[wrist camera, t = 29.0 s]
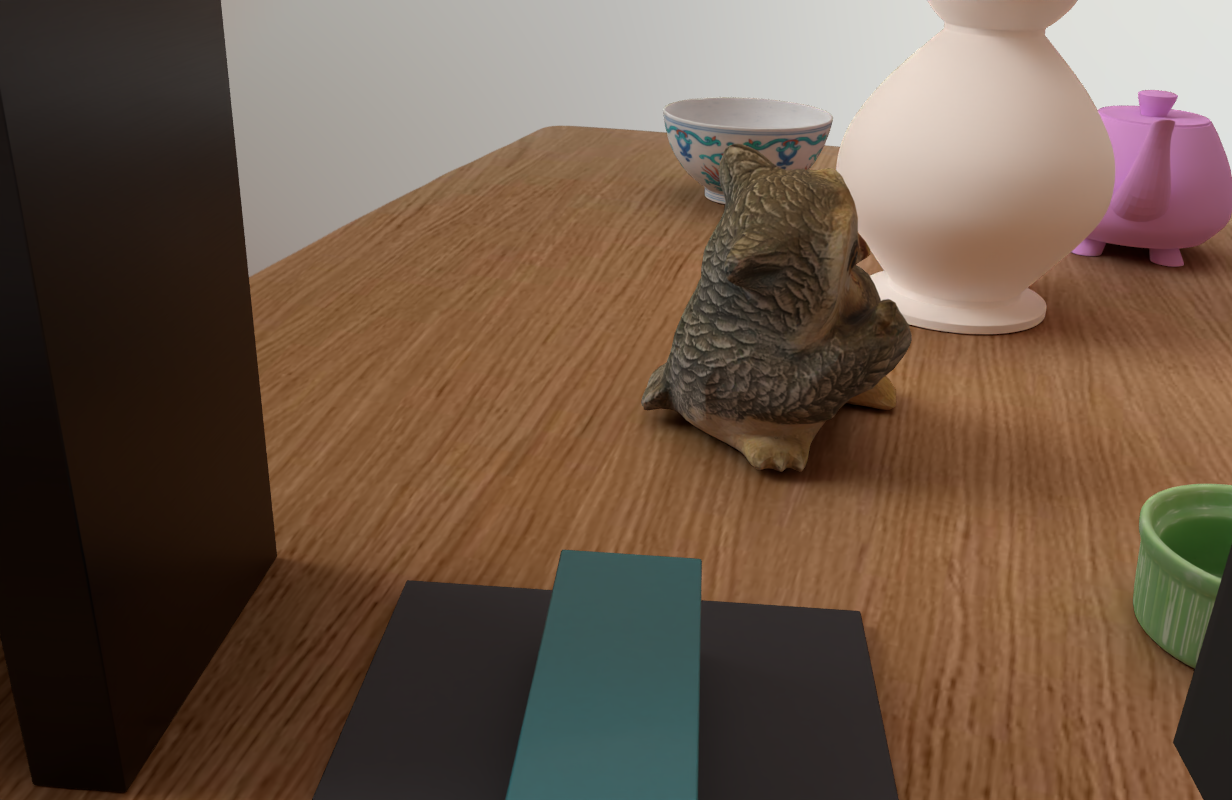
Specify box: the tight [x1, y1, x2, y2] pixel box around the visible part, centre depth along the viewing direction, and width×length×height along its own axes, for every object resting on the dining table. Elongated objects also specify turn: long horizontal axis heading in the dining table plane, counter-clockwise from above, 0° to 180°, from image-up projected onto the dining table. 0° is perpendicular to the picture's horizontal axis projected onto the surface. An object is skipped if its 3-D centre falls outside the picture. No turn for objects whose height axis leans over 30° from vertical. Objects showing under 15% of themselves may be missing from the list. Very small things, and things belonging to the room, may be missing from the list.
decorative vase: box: [836, 0, 1115, 334], centre depth 77 cm, size 18×18×25 cm
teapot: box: [1071, 90, 1232, 267], centre depth 93 cm, size 20×14×12 cm
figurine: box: [641, 144, 911, 472], centre depth 59 cm, size 14×15×15 cm
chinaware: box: [663, 97, 833, 204], centre depth 106 cm, size 15×15×8 cm
